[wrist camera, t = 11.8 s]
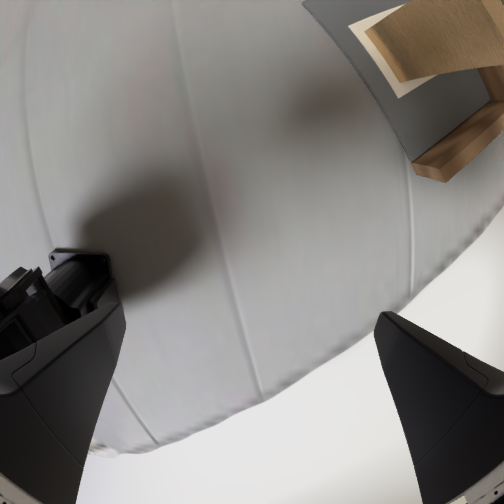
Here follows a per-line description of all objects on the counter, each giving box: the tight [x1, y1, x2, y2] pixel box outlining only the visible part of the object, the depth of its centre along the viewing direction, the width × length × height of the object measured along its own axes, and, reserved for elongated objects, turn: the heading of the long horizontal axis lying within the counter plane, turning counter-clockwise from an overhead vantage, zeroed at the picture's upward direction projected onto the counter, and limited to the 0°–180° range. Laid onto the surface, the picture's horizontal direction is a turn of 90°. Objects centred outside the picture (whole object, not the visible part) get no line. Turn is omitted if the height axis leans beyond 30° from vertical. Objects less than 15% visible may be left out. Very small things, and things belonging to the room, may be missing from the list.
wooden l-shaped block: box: [365, 0, 504, 83], centre depth 10 cm, size 8×5×12 cm, turn 127°
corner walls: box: [411, 65, 504, 183], centre depth 14 cm, size 15×17×4 cm
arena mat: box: [302, 0, 491, 161], centre depth 16 cm, size 14×16×1 cm
